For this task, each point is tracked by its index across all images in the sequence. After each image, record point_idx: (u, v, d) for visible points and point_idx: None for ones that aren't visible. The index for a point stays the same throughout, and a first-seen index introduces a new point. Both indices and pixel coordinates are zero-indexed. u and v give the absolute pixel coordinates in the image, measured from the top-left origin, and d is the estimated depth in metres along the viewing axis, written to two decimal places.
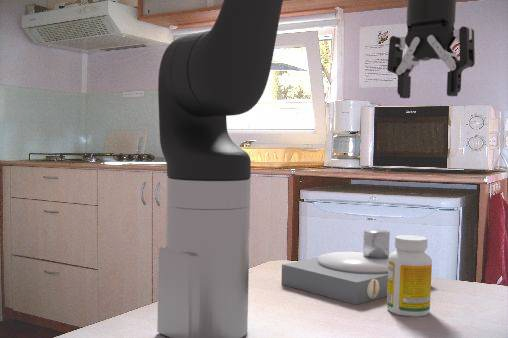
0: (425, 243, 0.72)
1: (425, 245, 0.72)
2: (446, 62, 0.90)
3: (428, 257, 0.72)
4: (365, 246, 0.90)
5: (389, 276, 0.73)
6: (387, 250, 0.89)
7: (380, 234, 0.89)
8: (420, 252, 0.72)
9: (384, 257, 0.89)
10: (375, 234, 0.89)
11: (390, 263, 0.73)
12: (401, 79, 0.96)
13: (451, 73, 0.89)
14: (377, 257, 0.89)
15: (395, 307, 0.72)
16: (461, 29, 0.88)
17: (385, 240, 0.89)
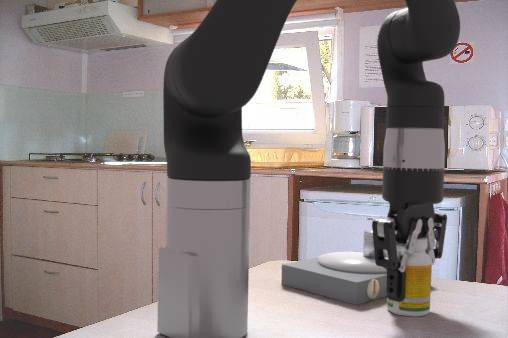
0: (425, 243, 0.72)
1: (425, 245, 0.72)
2: (429, 253, 0.75)
3: (428, 257, 0.72)
4: (365, 246, 0.90)
5: None
6: None
7: None
8: (420, 252, 0.72)
9: None
10: None
11: None
12: (403, 278, 0.71)
13: None
14: None
15: (395, 307, 0.72)
16: (444, 217, 0.77)
17: None
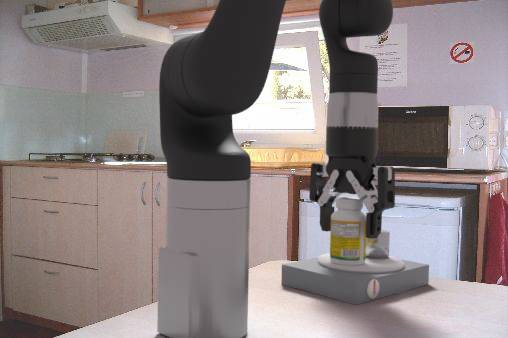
0: None
1: None
2: None
3: None
4: None
5: (353, 235, 0.83)
6: (387, 250, 0.89)
7: (380, 234, 0.89)
8: None
9: (384, 257, 0.89)
10: None
11: (354, 223, 0.83)
12: None
13: None
14: (377, 257, 0.89)
15: (361, 259, 0.84)
16: None
17: (385, 240, 0.89)
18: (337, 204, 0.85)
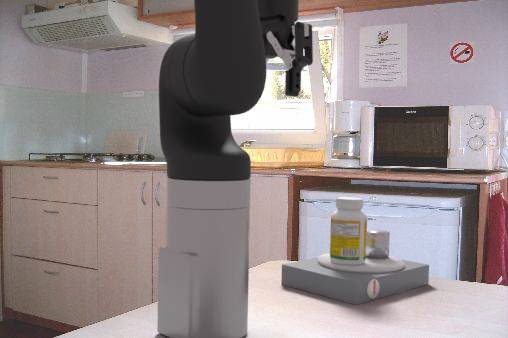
0: None
1: None
2: None
3: None
4: None
5: (353, 234, 0.83)
6: (387, 250, 0.89)
7: (380, 234, 0.89)
8: None
9: (384, 257, 0.89)
10: (375, 234, 0.89)
11: (354, 222, 0.83)
12: None
13: None
14: (377, 257, 0.89)
15: (361, 258, 0.84)
16: None
17: (385, 240, 0.89)
18: (337, 204, 0.85)
